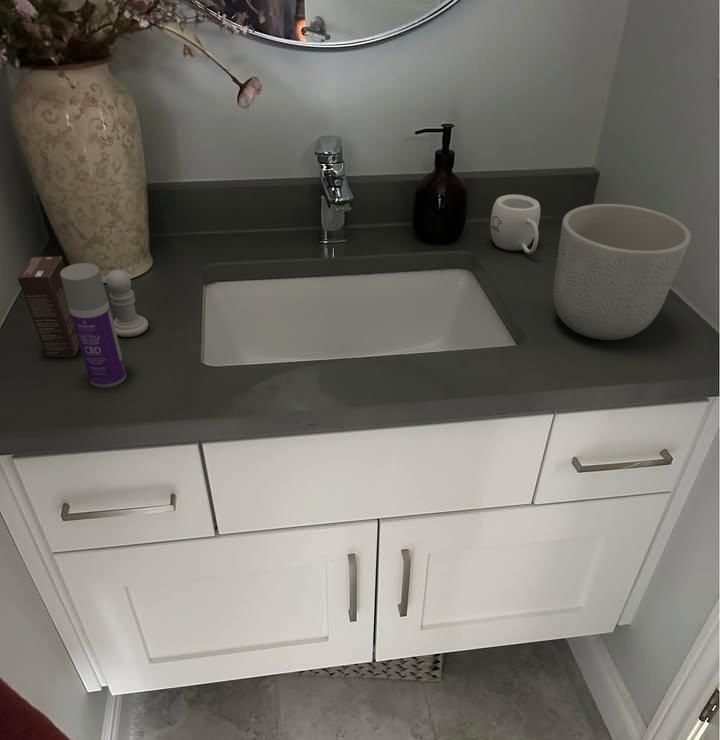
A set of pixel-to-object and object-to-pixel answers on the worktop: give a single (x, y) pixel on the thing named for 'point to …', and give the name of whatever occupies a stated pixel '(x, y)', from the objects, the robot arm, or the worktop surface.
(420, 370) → the worktop surface
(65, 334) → the box
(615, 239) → the planter
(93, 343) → the container
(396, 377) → the worktop surface
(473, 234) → the worktop surface
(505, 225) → the mug
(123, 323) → the chess piece
